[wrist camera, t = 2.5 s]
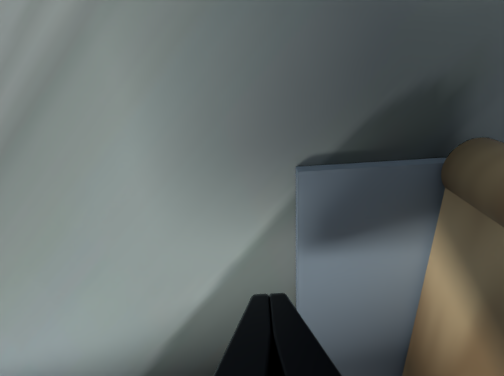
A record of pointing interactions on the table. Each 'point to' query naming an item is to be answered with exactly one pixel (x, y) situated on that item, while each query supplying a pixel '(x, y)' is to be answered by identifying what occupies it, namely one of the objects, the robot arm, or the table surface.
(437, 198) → the board
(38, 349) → the table surface
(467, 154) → the folding fence panel
